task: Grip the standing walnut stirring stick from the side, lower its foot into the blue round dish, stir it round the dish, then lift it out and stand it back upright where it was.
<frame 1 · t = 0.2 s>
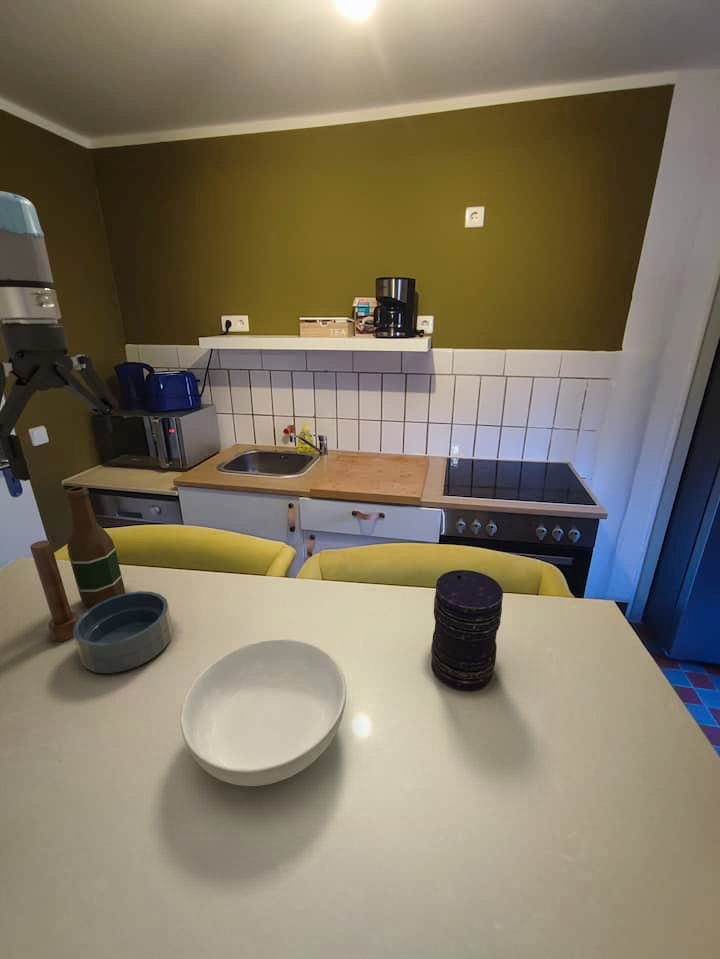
hand: (67, 465, 68), 31 cm above the table, tool pointing down, fingers open, 13 cm apart
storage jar: (461, 668, 68), on the table
blue round dish: (129, 644, 74), on the table
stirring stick: (67, 632, 77), on the table
beer bottle: (104, 600, 86), on the table
serving bowl: (270, 731, 58), on the table
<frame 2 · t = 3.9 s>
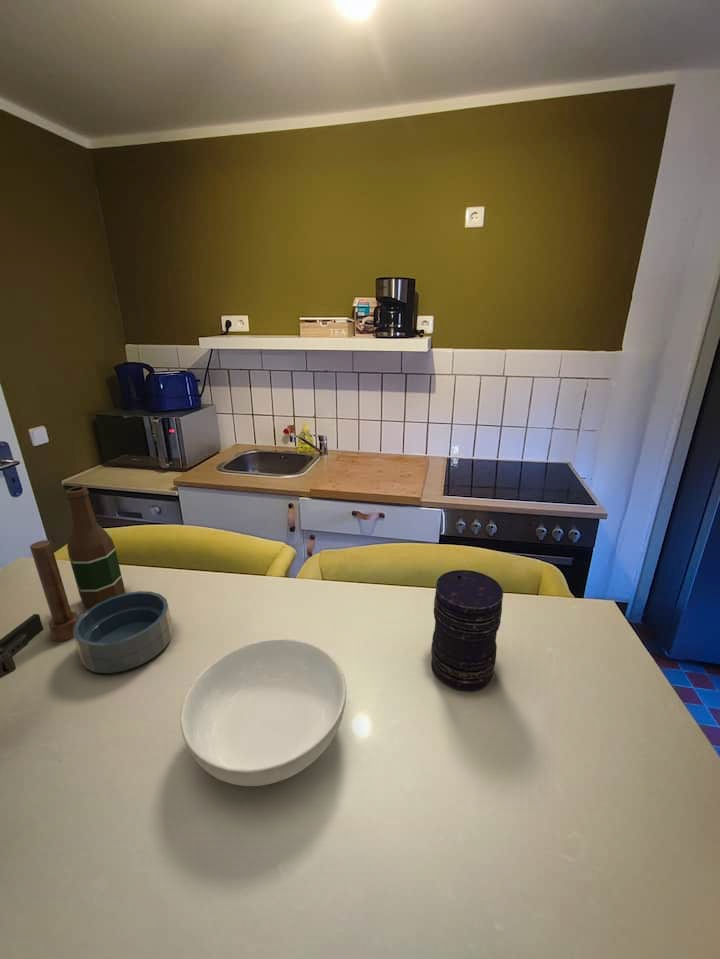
nothing on the table moved.
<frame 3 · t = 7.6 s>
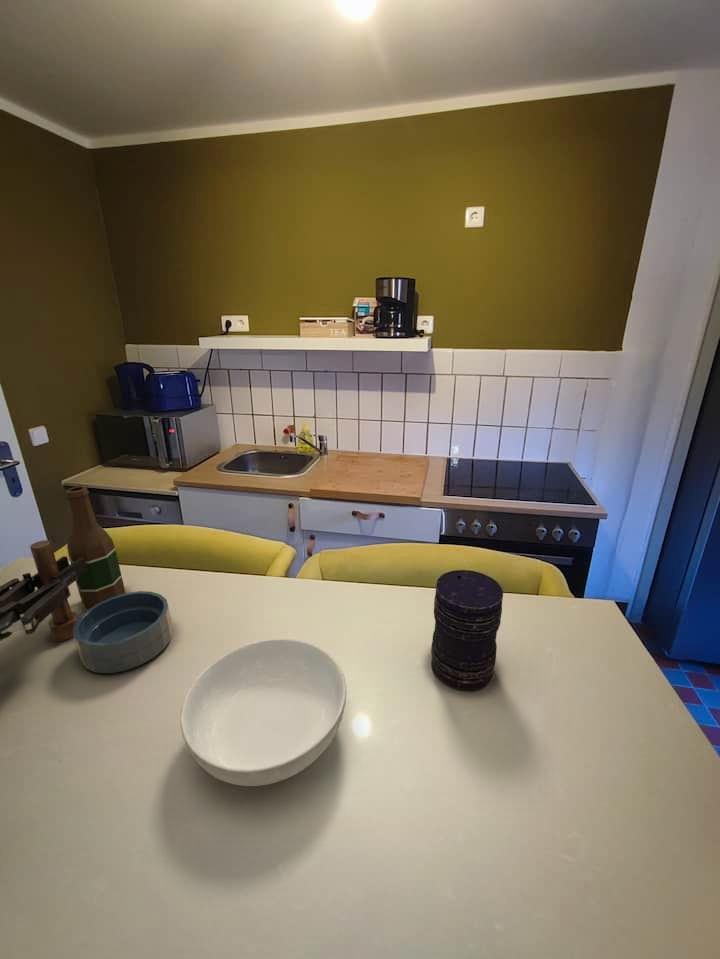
hand: (75, 563, 78), 11 cm above the table, tool horizontal, fingers closed on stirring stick, 3 cm apart
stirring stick: (67, 632, 77), on the table, touching gripper
everything else where it was.
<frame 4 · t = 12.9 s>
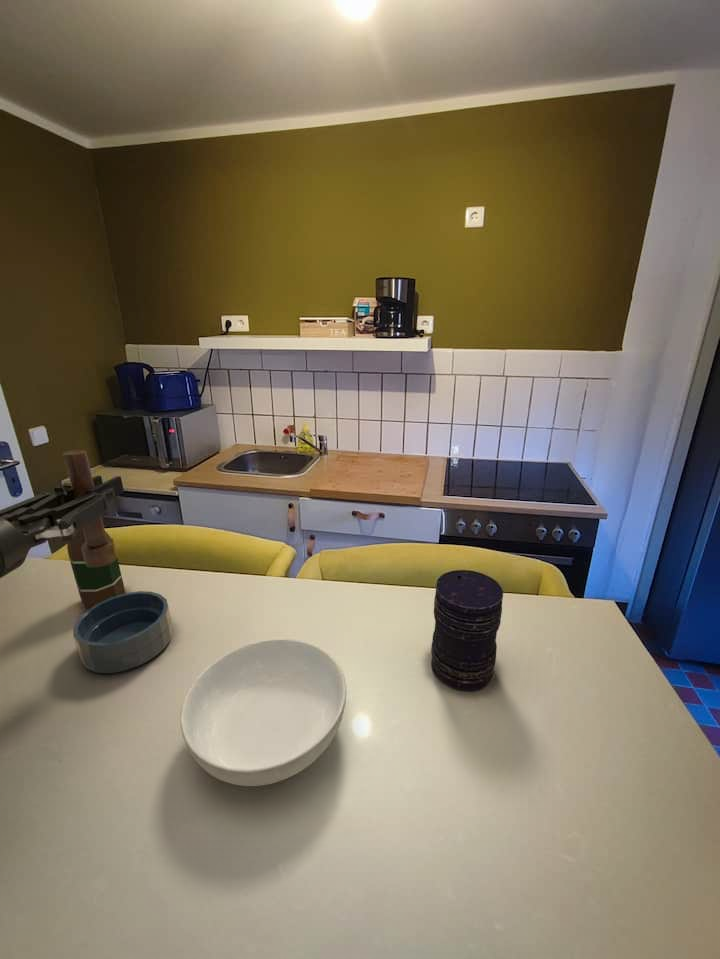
hand: (110, 483, 70), 28 cm above the table, tool horizontal, fingers closed on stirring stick, 3 cm apart
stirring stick: (101, 560, 68), point 17 cm above the table, touching gripper
everything else where it was.
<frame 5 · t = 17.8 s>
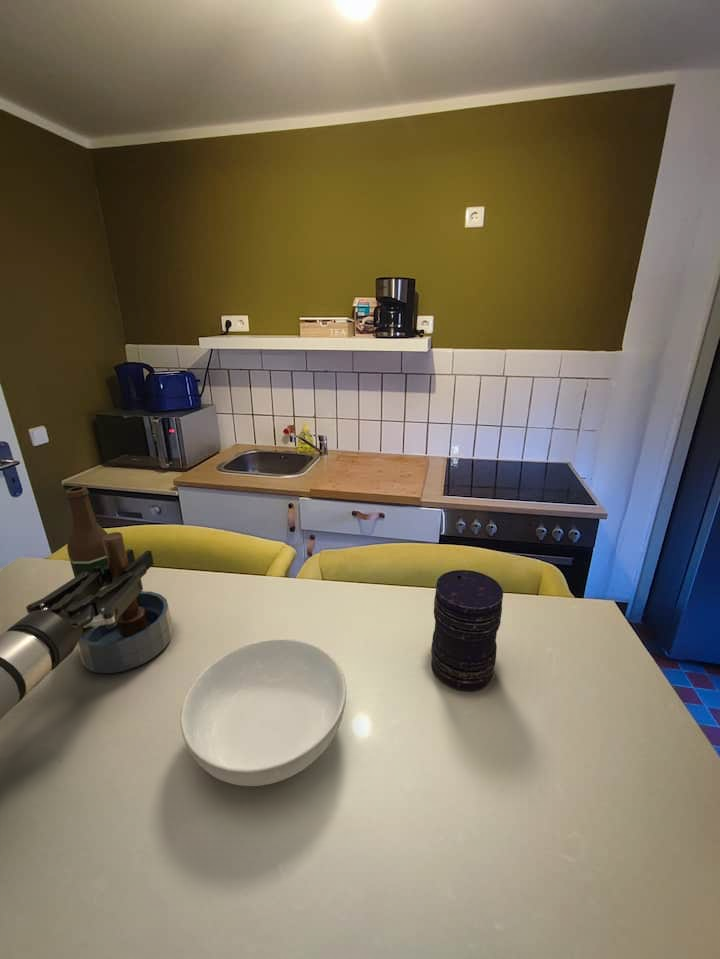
hand: (141, 556, 75), 13 cm above the table, tool horizontal, fingers closed on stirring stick, 3 cm apart
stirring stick: (133, 628, 74), point 2 cm above the table, touching gripper
everything else where it was.
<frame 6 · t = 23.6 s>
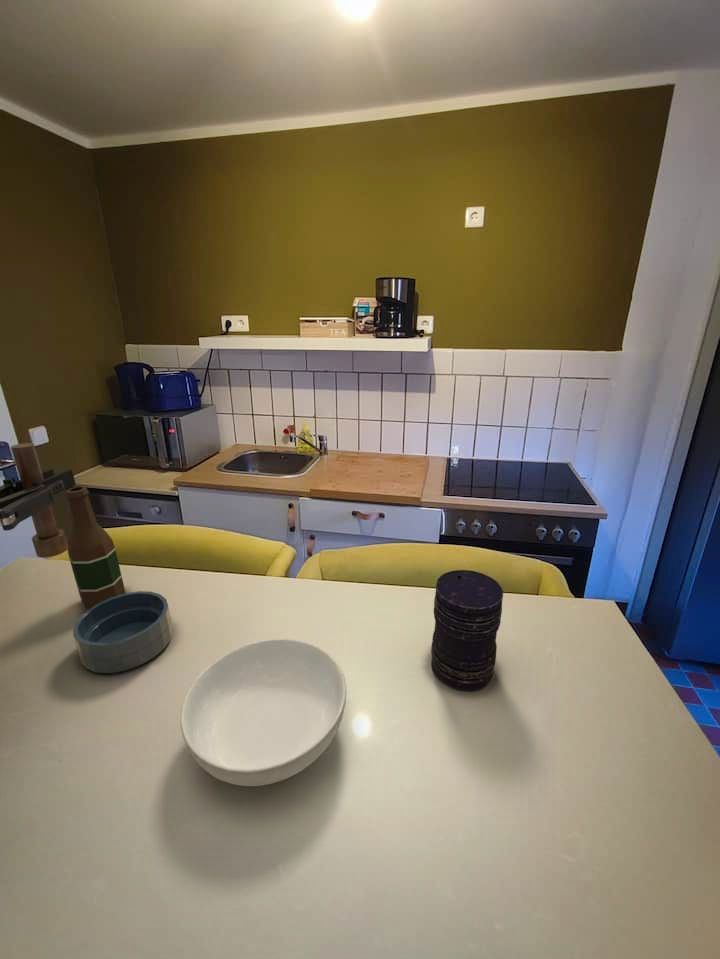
hand: (62, 476, 72), 28 cm above the table, tool horizontal, fingers closed on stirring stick, 3 cm apart
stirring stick: (53, 550, 70), point 17 cm above the table, touching gripper
everything else where it was.
when the fingers open (11 cm above the table, at t = 28.4 s): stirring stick stays where it is, on the table.
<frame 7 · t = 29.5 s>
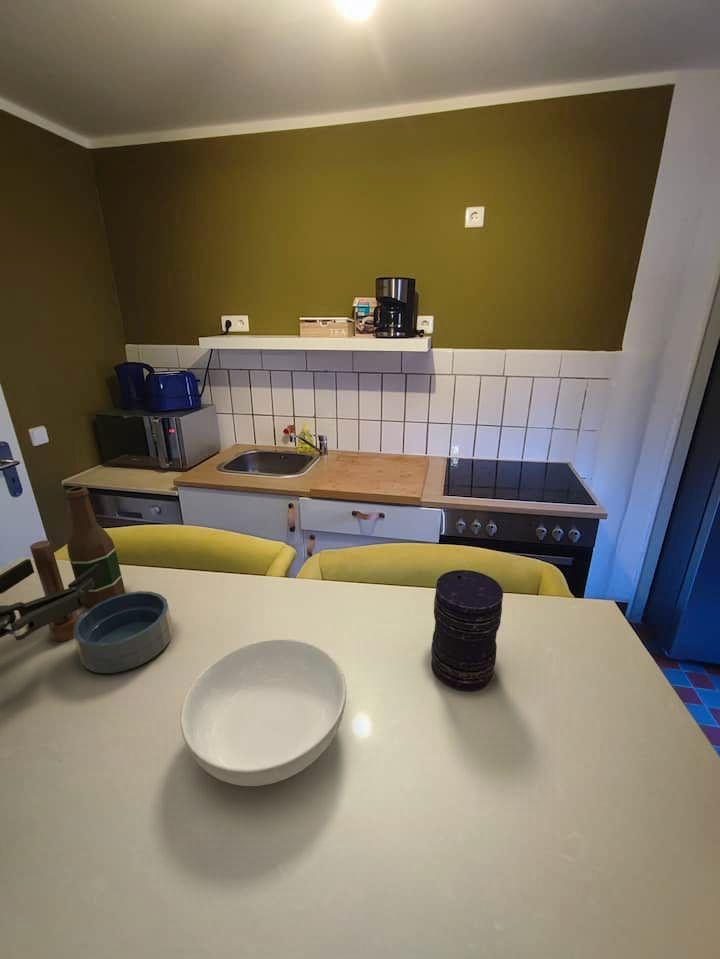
hand: (65, 567, 76), 11 cm above the table, tool horizontal, fingers open, 13 cm apart
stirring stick: (67, 633, 77), on the table
everything else where it was.
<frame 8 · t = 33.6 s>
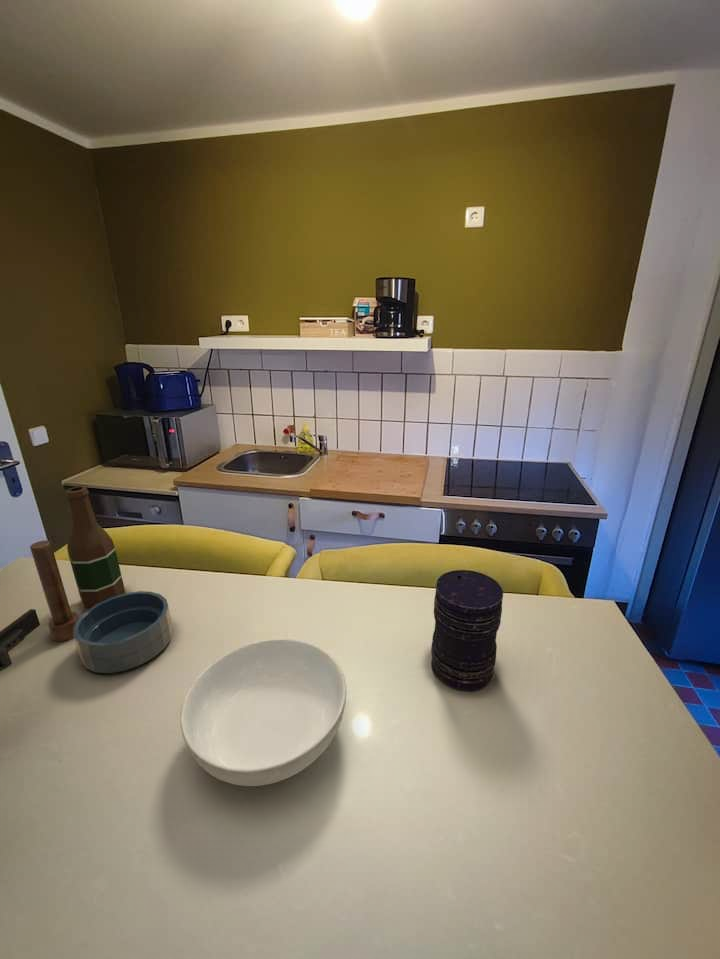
nothing on the table moved.
at the end: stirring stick tilted 0°; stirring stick inside the target area (0.1 cm from its centre), on the table; the gripper is holding nothing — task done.
